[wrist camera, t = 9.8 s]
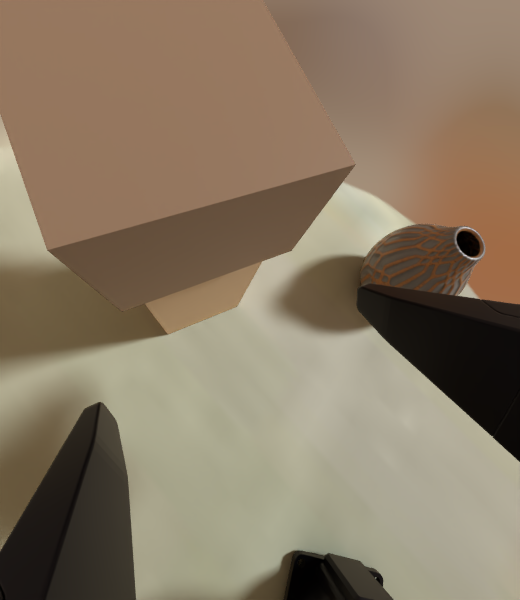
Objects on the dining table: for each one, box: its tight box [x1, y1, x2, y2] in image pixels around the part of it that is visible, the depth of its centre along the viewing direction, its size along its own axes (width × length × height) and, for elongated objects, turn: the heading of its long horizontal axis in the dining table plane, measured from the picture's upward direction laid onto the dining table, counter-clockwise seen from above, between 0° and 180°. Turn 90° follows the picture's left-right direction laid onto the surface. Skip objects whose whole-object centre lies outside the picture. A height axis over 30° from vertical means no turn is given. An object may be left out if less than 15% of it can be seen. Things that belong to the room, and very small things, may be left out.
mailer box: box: [145, 261, 262, 334], centre depth 17 cm, size 6×6×10 cm
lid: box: [0, 0, 355, 312], centre depth 9 cm, size 7×7×5 cm
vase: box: [360, 224, 485, 296], centre depth 21 cm, size 7×7×9 cm
